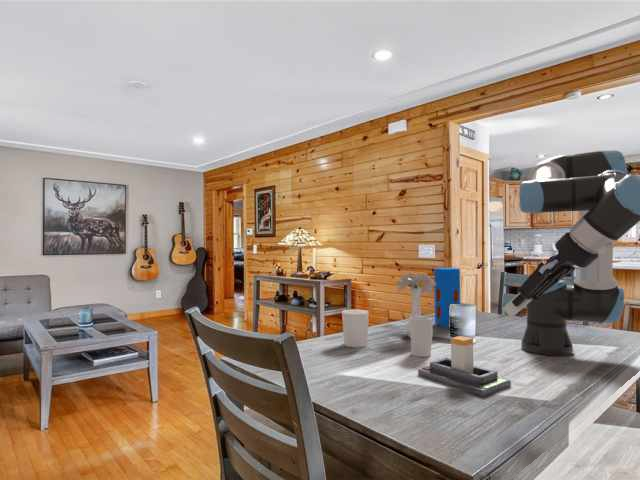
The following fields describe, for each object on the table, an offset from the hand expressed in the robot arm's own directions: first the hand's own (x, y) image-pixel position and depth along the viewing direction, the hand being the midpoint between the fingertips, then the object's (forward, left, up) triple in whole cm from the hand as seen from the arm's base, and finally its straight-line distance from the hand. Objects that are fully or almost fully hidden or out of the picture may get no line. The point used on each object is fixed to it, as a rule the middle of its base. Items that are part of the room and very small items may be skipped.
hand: (508, 312), depth 97 cm
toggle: (+10, -8, -18) cm, 22 cm away
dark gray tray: (+10, -8, -20) cm, 24 cm away
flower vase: (+23, -56, -20) cm, 64 cm away
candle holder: (+44, -39, -20) cm, 62 cm away
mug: (+20, -32, -20) cm, 43 cm away
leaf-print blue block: (+10, -80, -20) cm, 83 cm away
